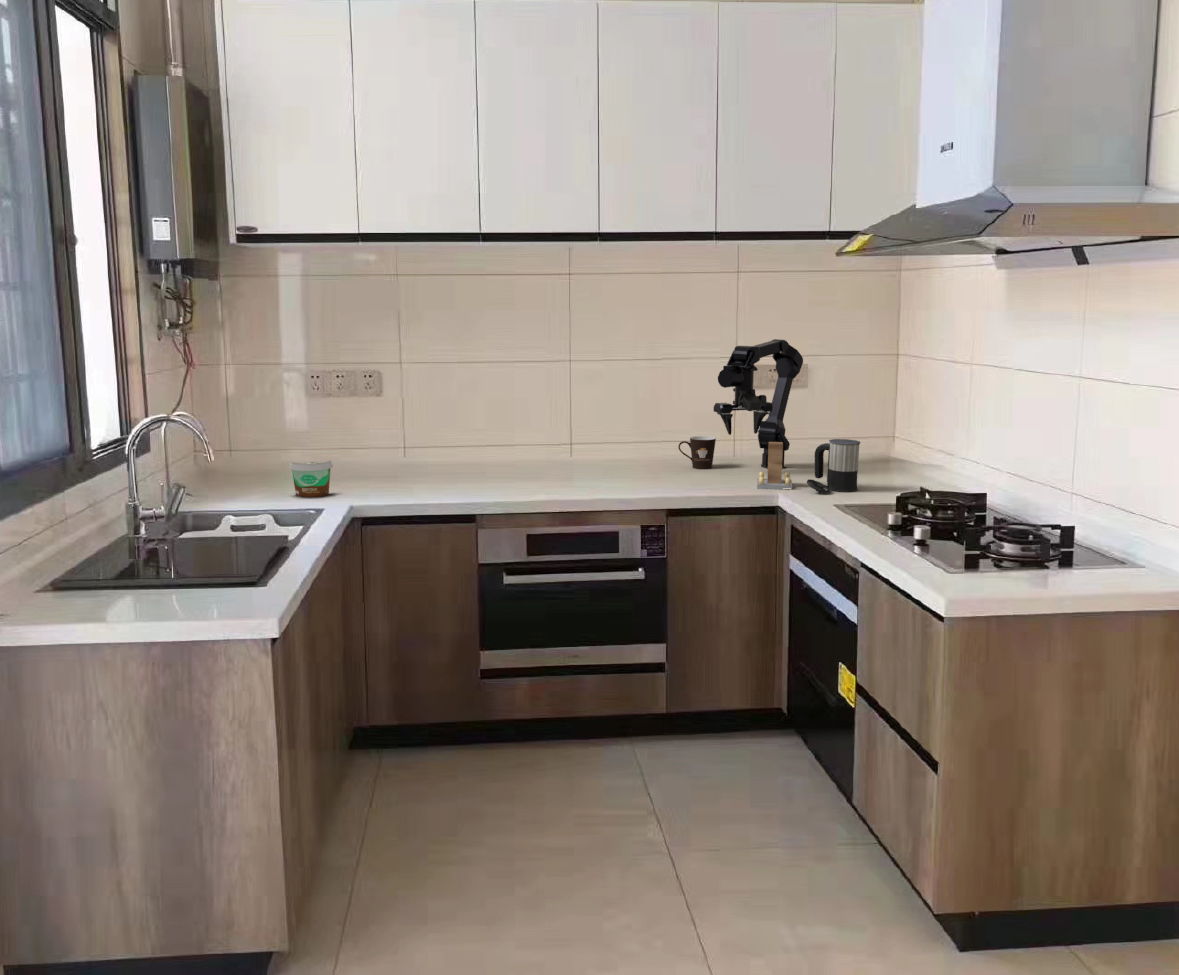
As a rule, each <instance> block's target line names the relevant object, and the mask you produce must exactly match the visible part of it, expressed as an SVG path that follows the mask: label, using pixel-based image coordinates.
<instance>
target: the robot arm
mask: <svg viewBox="0 0 1179 975" xmlns="http://www.w3.org/2000/svg"><path fill="white" fill-rule="evenodd" d="M771 355H772V359H773V360H774V361H775V370H776V373H777V380H776V384H775V388H774V392H773V396H772V399H771V401H770V402H769V401H767V395H766V394H760V395H756V389H754V375H755V374H754V372H756V371H758V368H757V366H755V364H756V363H758V362H760V360H761V358H764V357H769V356H771ZM803 364H804V358H803V356H802V354H801V353H800V352H799V350H797V349H796V348H795V347H793V346H792V345H790V343H789V342H788V341H787V340H785V339H777V338H775V339H772V340H769V341H765V342H762V343H759V344H755V345H737V346H735V347H734V349H733V350H732V353H731V355H730V357H729V359H728V361H727V363H726V365H723V367H722V368H723V369H722V370H721V371H719V373H718V376H717V382H718V384H719V386H720V387H721V388H733V392H734V400H733V401H732V403H728V402H715V403H714V405H713V412H714V413H717V415H719V417H721V419H722V421H723V424H724V426H725V429H726V431H727V434H728V435H729V436H731V435H732V419H733V413H732V412H733V411H735V412H736V411H747V412H753V433H754V434H757V439H758V445H759V449H763V453H761V454H762V455H761V457H762V459H761V460H762V461H761V464H760V466H761V467H763V468H766V469H768V447H769V442H783V455H782V469H786V468H787V466H785V454H786V453H785V451H788V450H789V448H790V444H791V443H790V442H789V439H788V438H787V437H786V426H785V424H784V417H785V413H786V409H787V405H788V400H789V397H790V392H791V388H792V385H793V381H794V379H795V378H796V377H797V376H798V374H800V372H801V369H802V367H803ZM766 416H768V417H767V418H766V419H765V420H763V419H764V418H765V417H766Z"/></svg>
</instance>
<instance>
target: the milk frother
mask: <svg viewBox="0 0 1179 975" xmlns="http://www.w3.org/2000/svg"><path fill="white" fill-rule="evenodd" d="M828 442H829V443H828ZM828 442H825V443H822V444H820V445H818V446H816V448H815V451H814V477H815V479H821V478H823V477H824V459H825V458H824V457H825V456H824V454H825V451H828V456H827V457H828V458H827V473H826V474H827V475H826V484H824V483H822V482H819V481H817V480H814V479H807V480H806V484H807V485H808V486H809V487H810V488H811V489H813V490H814V491H816V492H818V494H822V493H824V494H829V493H831V491H832V492H833V491H834V492H842V493H851V492H856V491H858V468H859V456H860V444H861V441H860V440H856V439H849V438H847V439H846V438H832V439H829V440H828Z"/></svg>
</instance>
